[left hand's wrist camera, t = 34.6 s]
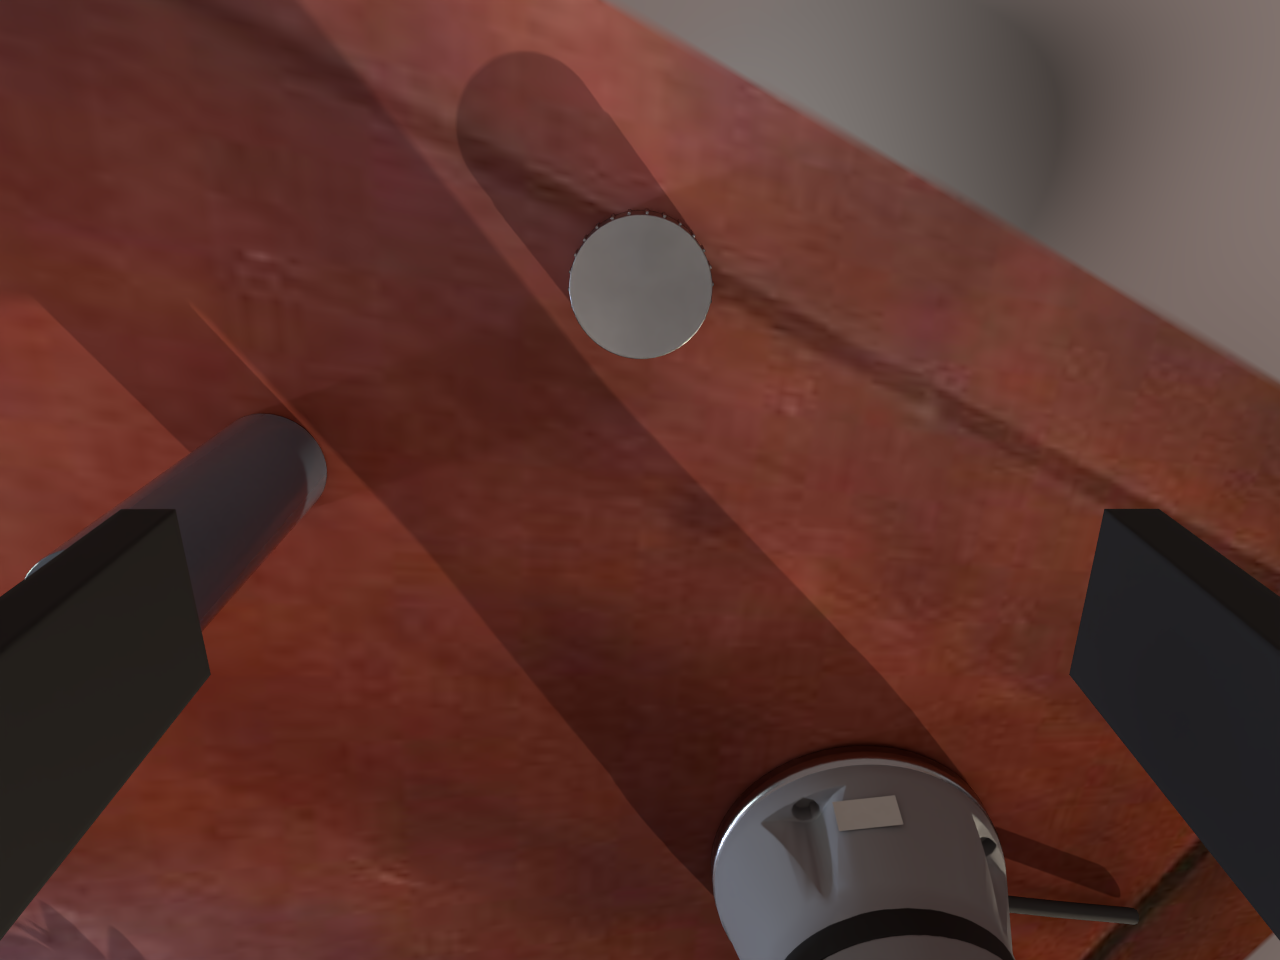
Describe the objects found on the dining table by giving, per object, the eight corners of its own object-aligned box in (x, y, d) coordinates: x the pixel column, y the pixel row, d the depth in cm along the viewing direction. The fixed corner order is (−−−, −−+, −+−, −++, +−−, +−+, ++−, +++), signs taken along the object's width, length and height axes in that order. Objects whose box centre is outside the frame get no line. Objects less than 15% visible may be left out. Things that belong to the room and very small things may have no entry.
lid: (730, 235, 36) (735, 241, 34) (682, 367, 38) (684, 379, 36) (595, 187, 35) (593, 190, 33) (554, 324, 37) (549, 334, 35)
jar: (337, 432, 39) (164, 604, 25) (316, 529, 41) (143, 741, 27) (225, 398, 38) (-18, 554, 24) (208, 497, 40) (-28, 697, 26)
